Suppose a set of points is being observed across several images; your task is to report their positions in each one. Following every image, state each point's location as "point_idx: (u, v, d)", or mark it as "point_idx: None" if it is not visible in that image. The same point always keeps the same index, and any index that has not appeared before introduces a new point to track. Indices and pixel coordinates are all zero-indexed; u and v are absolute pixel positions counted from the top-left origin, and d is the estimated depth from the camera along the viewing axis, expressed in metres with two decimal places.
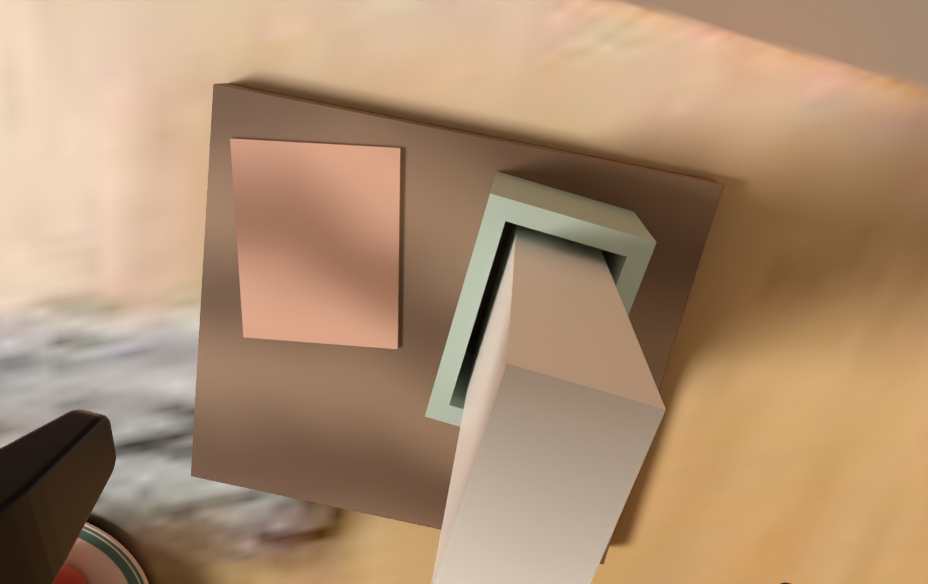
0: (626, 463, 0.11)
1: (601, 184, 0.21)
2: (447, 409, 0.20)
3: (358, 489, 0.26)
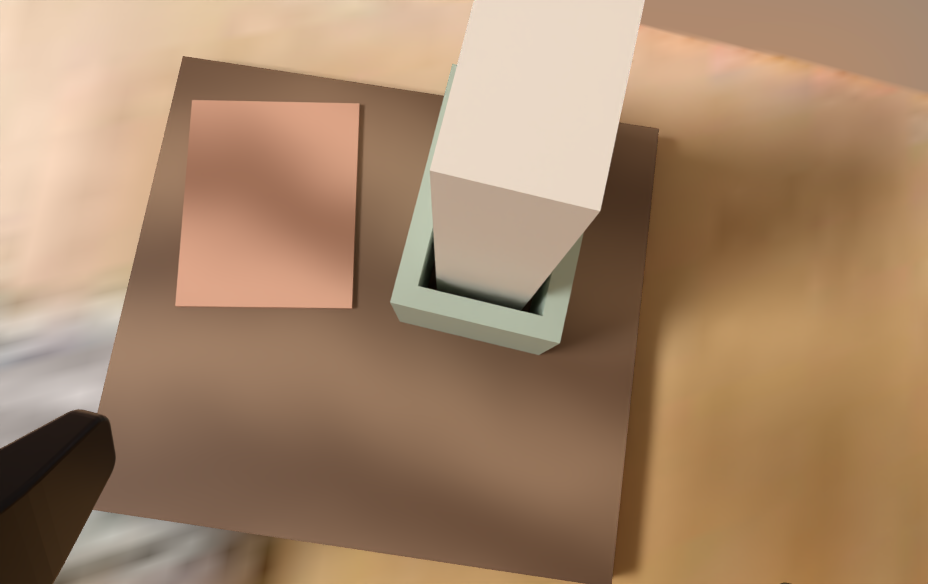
0: None
1: None
2: (416, 292, 0.18)
3: (296, 504, 0.21)
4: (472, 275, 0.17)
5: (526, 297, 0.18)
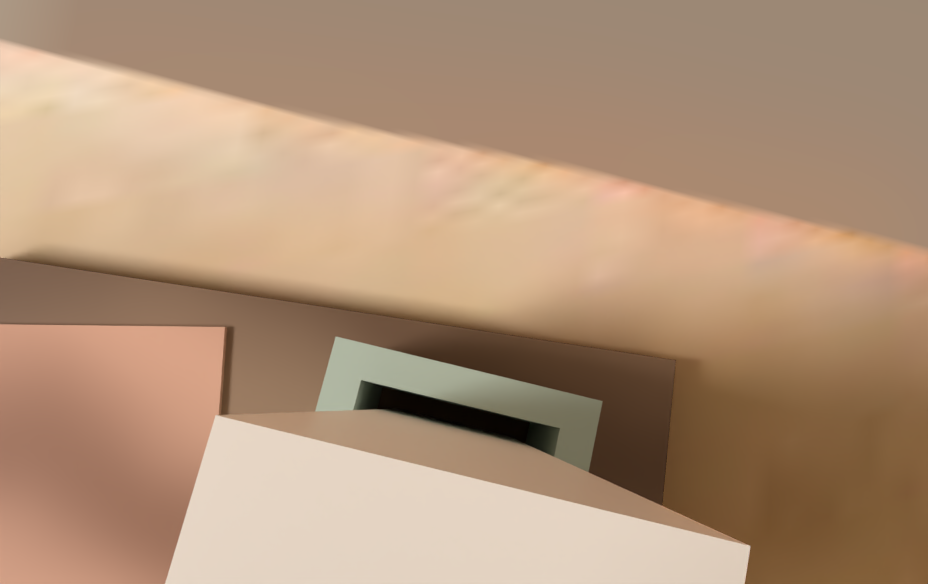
0: None
1: (511, 366, 0.15)
2: None
3: None
4: None
5: None
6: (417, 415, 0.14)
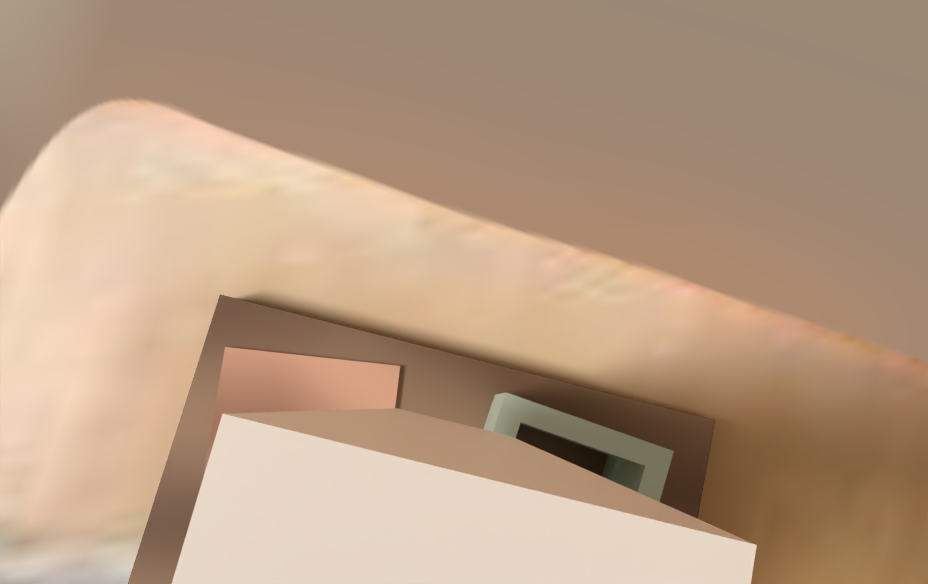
0: None
1: (598, 413, 0.21)
2: None
3: None
4: None
5: None
6: (419, 415, 0.14)
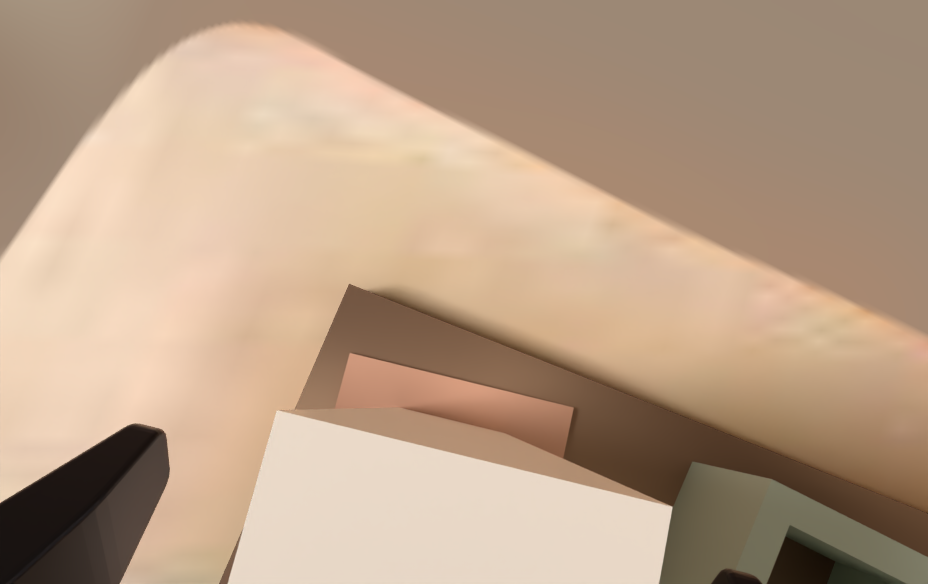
0: None
1: (826, 504, 0.16)
2: None
3: None
4: None
5: None
6: (420, 413, 0.15)
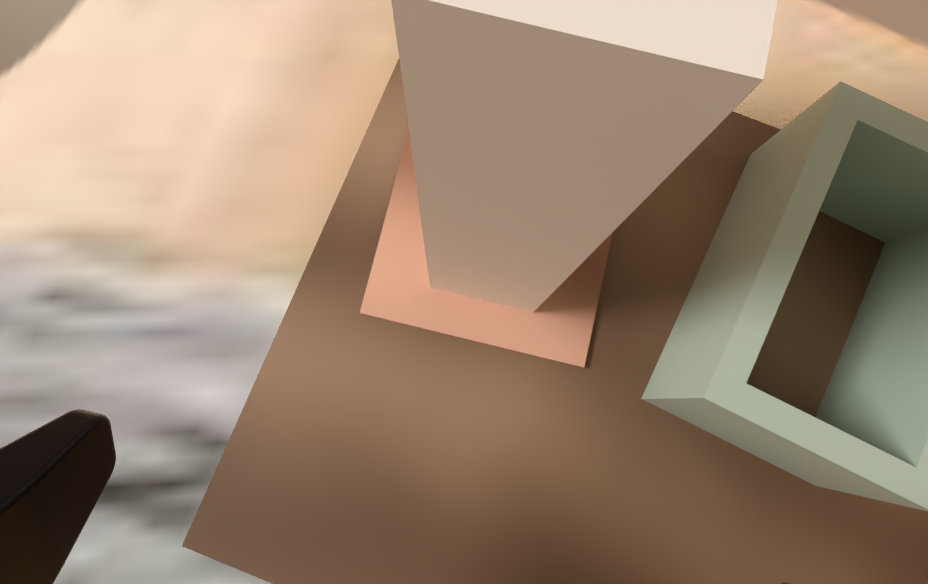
0: None
1: None
2: (742, 391, 0.12)
3: None
4: (477, 249, 0.11)
5: (554, 283, 0.13)
6: None
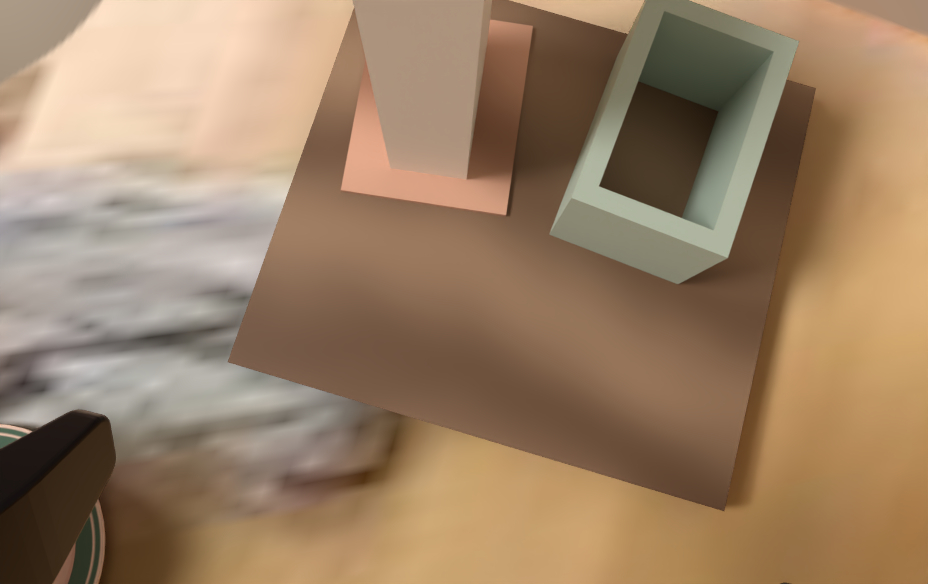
0: None
1: None
2: (596, 191, 0.19)
3: (434, 390, 0.22)
4: (410, 104, 0.18)
5: (466, 132, 0.19)
6: None
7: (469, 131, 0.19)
